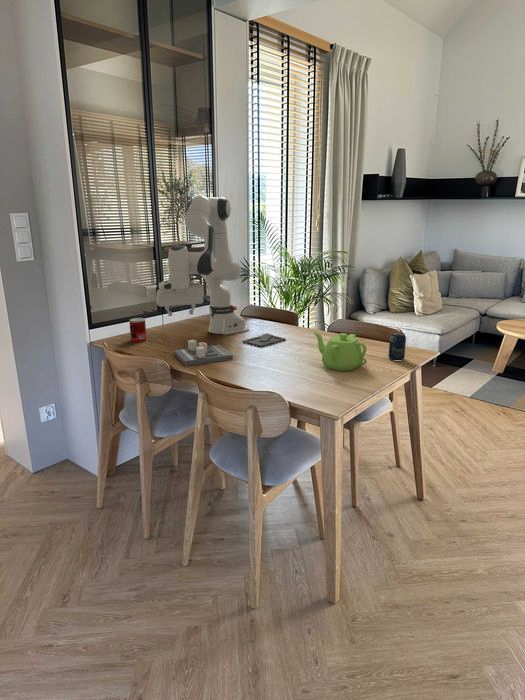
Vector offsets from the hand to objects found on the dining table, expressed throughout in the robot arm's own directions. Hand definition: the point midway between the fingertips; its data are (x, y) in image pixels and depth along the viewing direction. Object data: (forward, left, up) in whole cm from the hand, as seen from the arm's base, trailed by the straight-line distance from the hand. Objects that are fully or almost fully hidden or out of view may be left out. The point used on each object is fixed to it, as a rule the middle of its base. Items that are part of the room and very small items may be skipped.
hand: (180, 315), depth 214 cm
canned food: (+12, -40, -21) cm, 47 cm away
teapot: (-58, +38, -21) cm, 72 cm away
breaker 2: (-6, +7, -18) cm, 21 cm away
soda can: (-86, +42, -21) cm, 98 cm away
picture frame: (-45, -10, -21) cm, 51 cm away
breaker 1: (-6, -5, -18) cm, 20 cm away
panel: (-9, +1, -20) cm, 22 cm away
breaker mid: (-9, +1, -18) cm, 21 cm away
